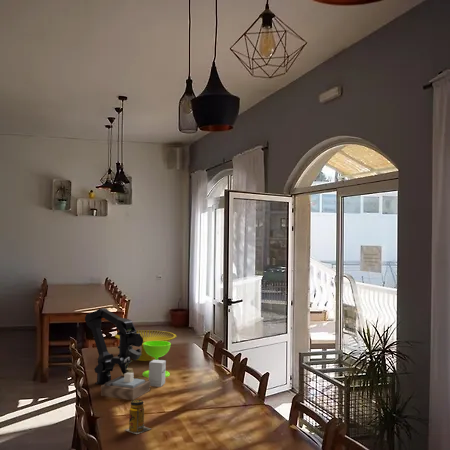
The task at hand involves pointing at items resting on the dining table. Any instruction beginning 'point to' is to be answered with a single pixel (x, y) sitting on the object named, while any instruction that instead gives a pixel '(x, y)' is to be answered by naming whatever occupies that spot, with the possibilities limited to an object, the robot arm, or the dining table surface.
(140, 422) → the condiment
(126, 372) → the latch
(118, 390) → the case
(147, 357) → the cake stand
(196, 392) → the dining table surface
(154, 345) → the wineglass
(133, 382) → the cover
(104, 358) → the robot arm
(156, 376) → the supplement box
